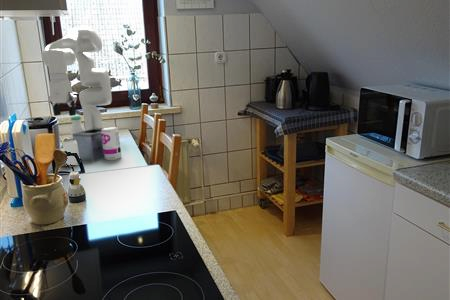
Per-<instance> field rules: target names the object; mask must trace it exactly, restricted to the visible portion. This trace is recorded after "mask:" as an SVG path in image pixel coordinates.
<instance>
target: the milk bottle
mask: <svg viewBox="0 0 450 300" xmlns="http://www.w3.org/2000/svg"><path fill="white" fill-rule="evenodd" d="M81 117H82V116H81V115H73V116H70V121H71V123H72V124H71V128H70V139H73V134H74V133H78V132H82V131H86V128H85V126H83V124H82V118H81Z"/></svg>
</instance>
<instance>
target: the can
mask: <svg viewBox="0 0 450 300" xmlns="http://www.w3.org/2000/svg"><path fill="white" fill-rule="evenodd" d="M62 149H63V150H62V151H63V152H64V151H67V152H72V153H77V154H78V156H79V151H78V145H77V141H76V139H71V138H67V139H63V140H62ZM66 163H67V164H71V165H76V166H79V165H78V164H77V161H76V159H75V157H74V156H68V159H67V162H66ZM66 163H65V164H66Z"/></svg>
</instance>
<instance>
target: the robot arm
mask: <svg viewBox="0 0 450 300" xmlns="http://www.w3.org/2000/svg"><path fill="white" fill-rule="evenodd" d="M102 48H103V43H102V40H101V38H100V35H98V33H97V32H96V31H95V30H94V29H93V28H92V27H88V26H83V27H82V26H81V27H72V28H68V30H67V31H66V32H65V34H64V35H63V37H62V38H59V39H58V40H56V41H53V42H51V43H49V44H47V45H46V46H45V48H44V50H43V51H42V54H41V59H42V62H43V64H44V65H45V66H47V67H48V71H49V78H50V81H49V96H48V97H47V98H48V100H49V103H50V105H51V107H52V109H53V114H54V116H60V115H61V114H62V113H61V107H60V104H67V105H68V115H69V116H70V117H73V116H77V115H76V109H75V107H76V104H77V101H78V98H79V102H80V105H81V109H82V114H83V121H84V128H85V131H86V130H89V129H93V128H104V126H103V119H102V113H101V111H100V110H99V109H98V107H97V106H107V105H111V104H112V102H113V97H112V87H111V78H110V73H109V71H108V70H107V69H105V68H96V67H95V65H96V64H95V60H94V58H93V57H92V56H91V55H90V53H97V52H100V51H101V50H102ZM76 61H77V65H78V72H79V73H78V74H79V81H80V84H81V86H82V87H86V88H87V87H89V88H87V89H82V90H81V91H80V92H79V93H78V97H77V95H75V94H74V93H73V89H72V85H71V82H70V80H69V74H68V73H69V72H68V67H67V66H72V65H74V63H75V62H76ZM90 87H101V88H90Z"/></svg>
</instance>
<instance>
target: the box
mask: <svg viewBox="0 0 450 300" xmlns="http://www.w3.org/2000/svg"><path fill="white" fill-rule="evenodd" d="M103 128H104V127H103ZM103 128H93V129H89V130H86V129H85V131H82V132H78V133H74V134H73V139H76V141H77V145H78V151H79V157H80V159H81V160H80V161H88V162H96V161H99V160H101V159H105V158H104V151H103V144H102V137H101V131H102V129H103Z"/></svg>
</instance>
